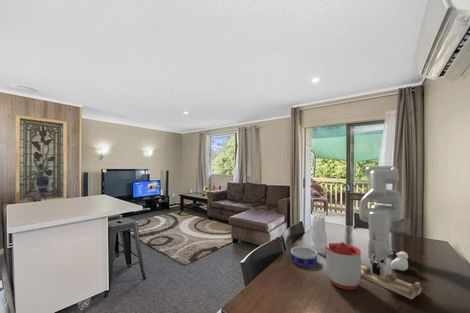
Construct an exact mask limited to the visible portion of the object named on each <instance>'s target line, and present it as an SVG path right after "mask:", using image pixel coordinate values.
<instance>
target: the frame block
mask: <svg viewBox="0 0 470 313" xmlns="http://www.w3.org/2000/svg"><path fill="white" fill-rule="evenodd" d="M375 262H376V263H377V261H375ZM369 266H370V273H371V274H372V275H375V276H377V277H379V278H382V279H384V280H385V277H387V276H389V275H390V271H389V266H390V265H389V264H387V263H386V264H385V263H382V262H379V267H380V276H378V275H376V274H373V270H372V263H371V262H370V261H369Z"/></svg>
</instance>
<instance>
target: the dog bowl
mask: <svg viewBox="0 0 470 313" xmlns="http://www.w3.org/2000/svg"><path fill="white" fill-rule="evenodd" d="M290 259H291V262H292V263H293V264H295V265H298V266H301V267H314V266H316V265H317V264H318V253H317V252H316V251H315V250H313V249H311V247H306V246H295V247H292V248H291V249H290Z"/></svg>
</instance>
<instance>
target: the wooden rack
mask: <svg viewBox="0 0 470 313" xmlns="http://www.w3.org/2000/svg"><path fill="white" fill-rule="evenodd" d="M361 278H362V279H364V280H366V281H368V282H371V283H373V284H375V285H378V286H380V287H382V288H384V289H388V290H390V291H391V292H394V293H397V294H398V295H400V296H404V297H406V298H408V299H410V300H413V299H414V298H416V297H417V296H419V295H420V294H422V287H421V283H420V282H418V281H416V282H414V283H413V284H412V283H409V282H407V281H404V280H402V279H399V278H397V274H396V273H395V272H393V273H391V274H390V273H389V276H387V277H385V280H384V279H382V278H379V277H377V276H375V275H372V274H371V273H370V265H369V266H365V265H362V264H361V277H360V279H361Z"/></svg>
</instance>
